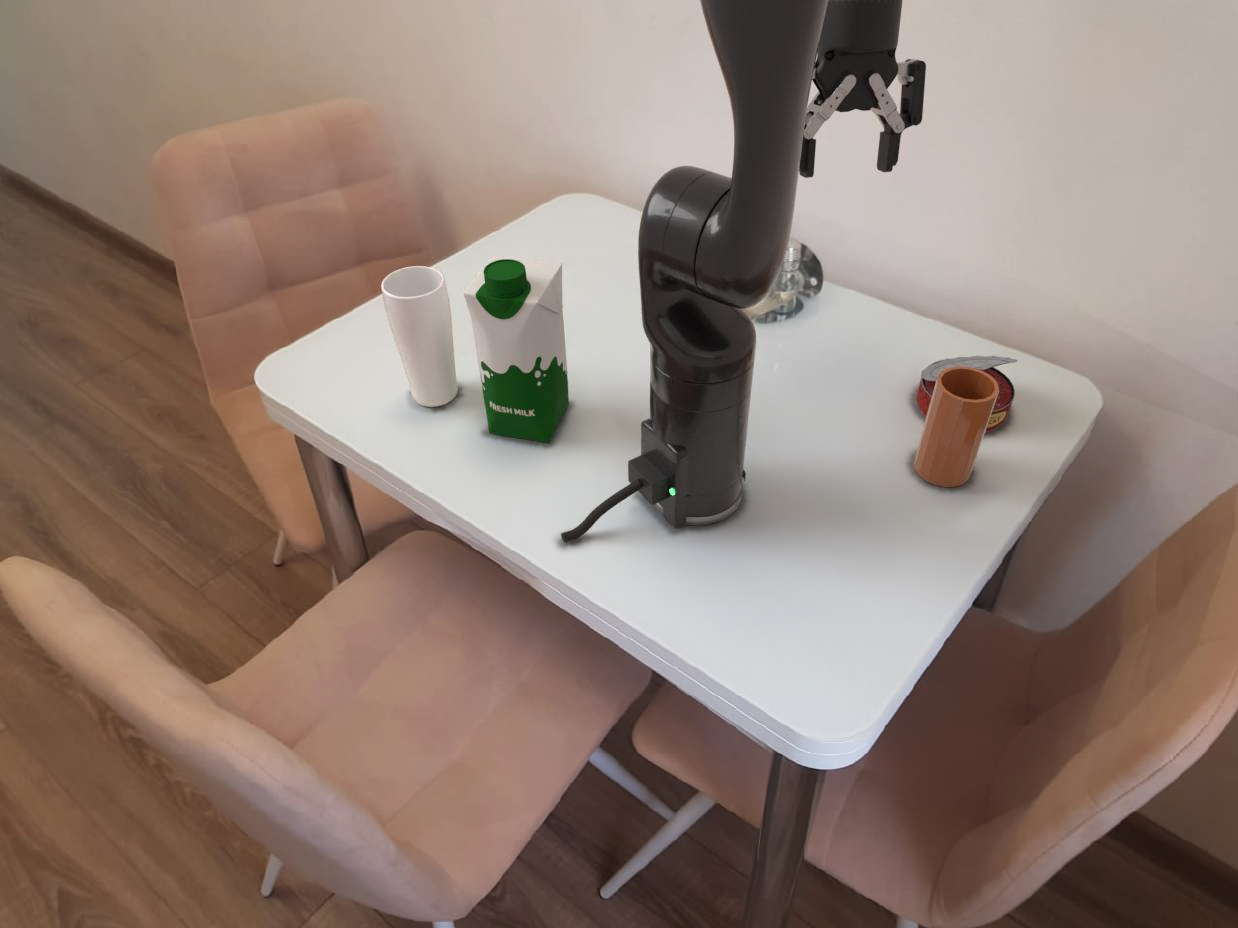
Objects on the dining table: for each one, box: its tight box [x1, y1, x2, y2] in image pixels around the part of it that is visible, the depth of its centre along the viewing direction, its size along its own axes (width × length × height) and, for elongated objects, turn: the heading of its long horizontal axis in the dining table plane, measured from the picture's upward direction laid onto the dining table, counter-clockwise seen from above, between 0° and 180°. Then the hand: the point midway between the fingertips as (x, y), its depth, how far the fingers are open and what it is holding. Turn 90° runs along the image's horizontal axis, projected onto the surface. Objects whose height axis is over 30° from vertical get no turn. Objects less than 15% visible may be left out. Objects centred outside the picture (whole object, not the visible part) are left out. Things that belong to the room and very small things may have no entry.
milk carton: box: [463, 254, 570, 444], centre depth 92 cm, size 9×9×20 cm
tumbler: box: [913, 366, 999, 488], centre depth 88 cm, size 6×6×11 cm
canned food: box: [915, 355, 1018, 434], centre depth 97 cm, size 11×10×10 cm
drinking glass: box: [380, 265, 459, 408], centre depth 97 cm, size 7×7×15 cm
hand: (845, 173), depth 91 cm, fingers open, 8 cm apart
